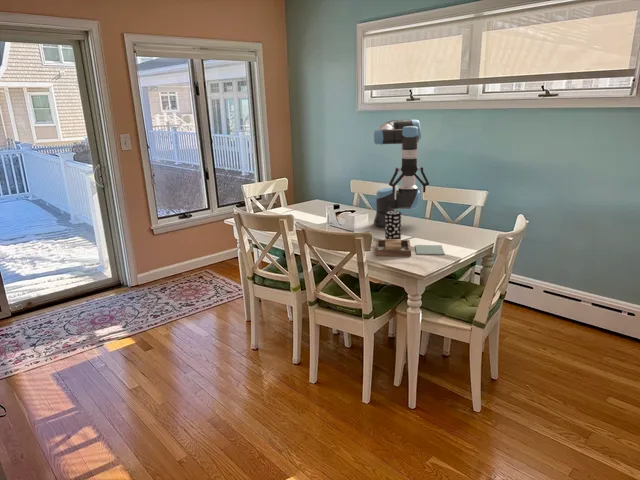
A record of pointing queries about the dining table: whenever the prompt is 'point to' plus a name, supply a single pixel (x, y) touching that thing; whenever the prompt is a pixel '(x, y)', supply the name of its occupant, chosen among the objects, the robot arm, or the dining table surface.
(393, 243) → the offcut
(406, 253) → the rack
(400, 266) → the dining table surface
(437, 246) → the mat
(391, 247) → the offcut
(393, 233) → the spotted tube
